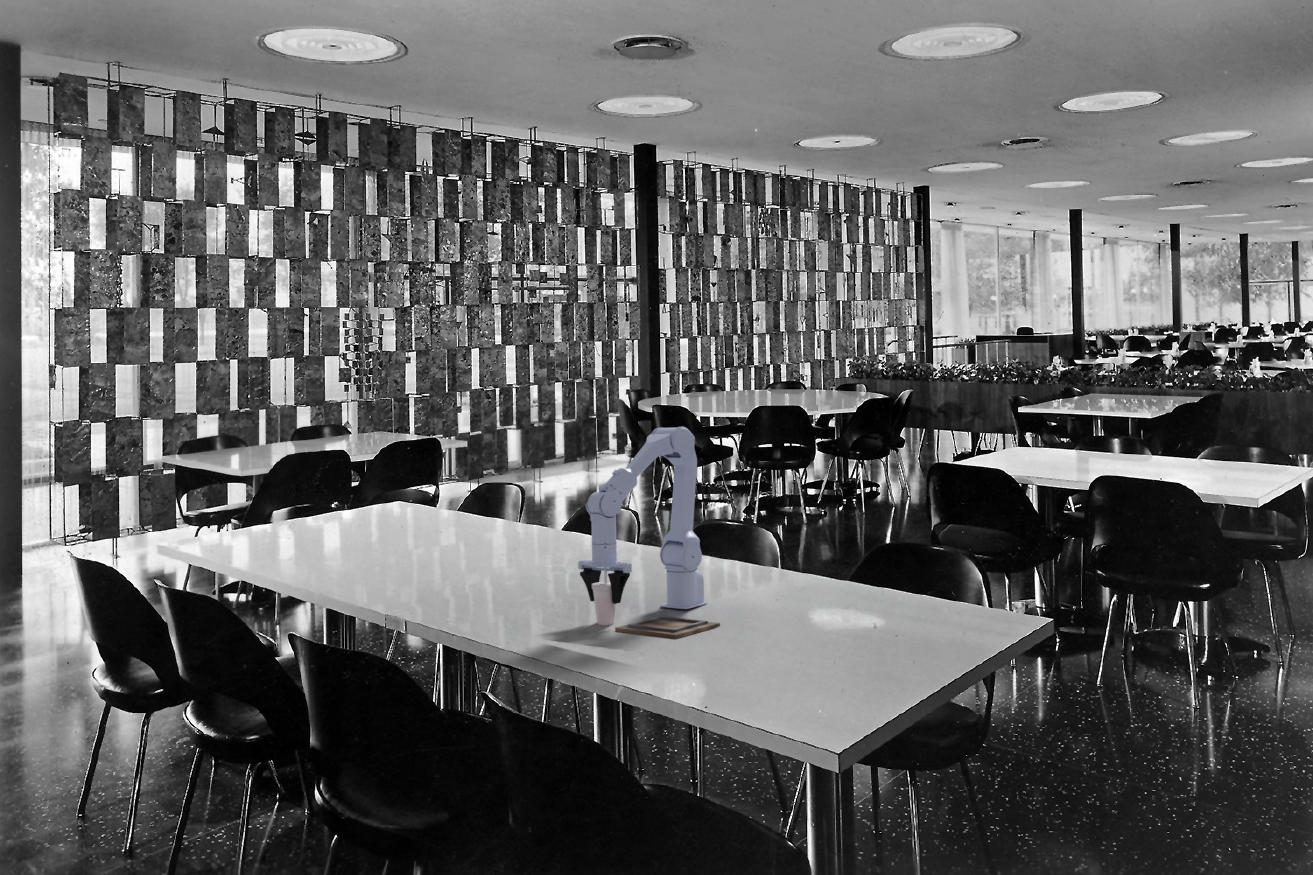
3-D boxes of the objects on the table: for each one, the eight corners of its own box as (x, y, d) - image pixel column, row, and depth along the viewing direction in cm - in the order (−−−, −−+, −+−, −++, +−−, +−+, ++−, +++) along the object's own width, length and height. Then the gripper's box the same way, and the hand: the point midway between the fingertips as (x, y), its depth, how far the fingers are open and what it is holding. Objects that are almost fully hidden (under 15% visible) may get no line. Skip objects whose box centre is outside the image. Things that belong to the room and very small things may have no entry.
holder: (660, 619, 250) (660, 613, 250) (720, 626, 240) (720, 620, 240) (615, 631, 236) (615, 624, 236) (676, 638, 226) (676, 632, 226)
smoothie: (595, 628, 240) (594, 567, 240) (589, 623, 246) (588, 564, 246) (622, 626, 242) (621, 566, 242) (616, 622, 248) (615, 562, 248)
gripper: (569, 543, 245) (570, 601, 245) (617, 546, 236) (618, 606, 236) (588, 540, 251) (590, 597, 251) (636, 543, 242) (638, 602, 242)
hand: (605, 601), depth 244 cm, fingers closed on smoothie, 6 cm apart
